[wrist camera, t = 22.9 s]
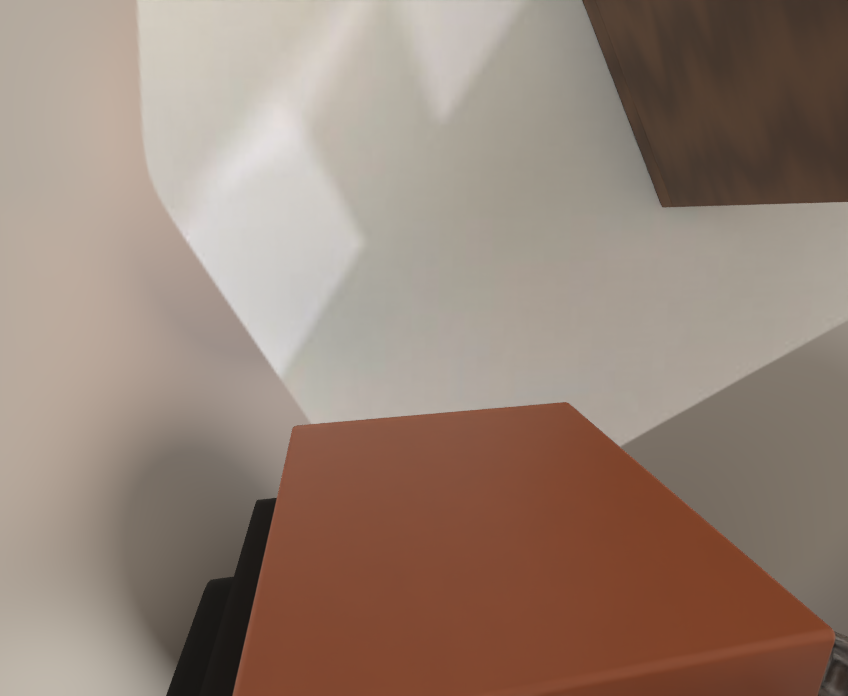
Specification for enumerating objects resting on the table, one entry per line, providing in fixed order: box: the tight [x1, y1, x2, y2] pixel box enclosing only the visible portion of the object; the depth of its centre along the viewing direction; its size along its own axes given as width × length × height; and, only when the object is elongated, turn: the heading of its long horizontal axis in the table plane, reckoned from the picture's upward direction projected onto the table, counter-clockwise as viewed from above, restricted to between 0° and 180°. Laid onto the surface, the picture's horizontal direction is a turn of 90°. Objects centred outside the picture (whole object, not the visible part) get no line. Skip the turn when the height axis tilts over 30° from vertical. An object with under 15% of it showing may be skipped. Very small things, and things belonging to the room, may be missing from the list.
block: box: [233, 402, 836, 696], centre depth 7 cm, size 6×6×6 cm
